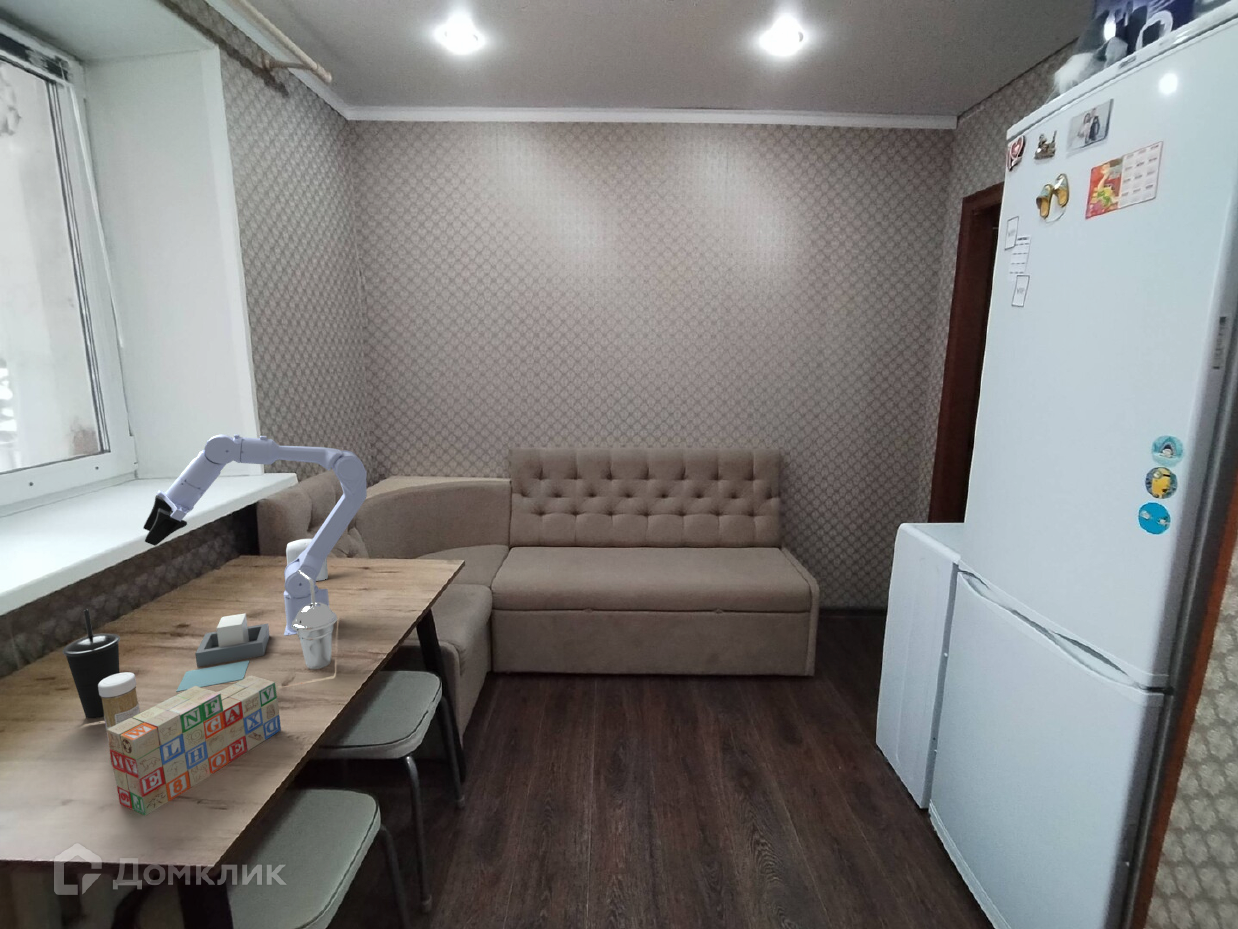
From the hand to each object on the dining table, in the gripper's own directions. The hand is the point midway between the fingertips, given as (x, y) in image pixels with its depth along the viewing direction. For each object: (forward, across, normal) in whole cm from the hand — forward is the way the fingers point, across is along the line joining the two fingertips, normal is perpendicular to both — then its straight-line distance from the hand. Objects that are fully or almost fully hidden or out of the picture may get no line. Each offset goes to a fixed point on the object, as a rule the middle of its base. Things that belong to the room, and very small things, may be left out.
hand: (149, 536), depth 124 cm
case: (+12, +12, +25) cm, 30 cm away
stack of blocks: (+14, +51, +16) cm, 55 cm away
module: (+12, +12, +25) cm, 30 cm away
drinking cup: (+25, +23, +7) cm, 35 cm away
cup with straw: (+3, +29, +34) cm, 45 cm away
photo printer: (+2, -25, +46) cm, 52 cm away
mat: (+14, +21, +21) cm, 33 cm away
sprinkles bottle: (+21, +40, +9) cm, 46 cm away
